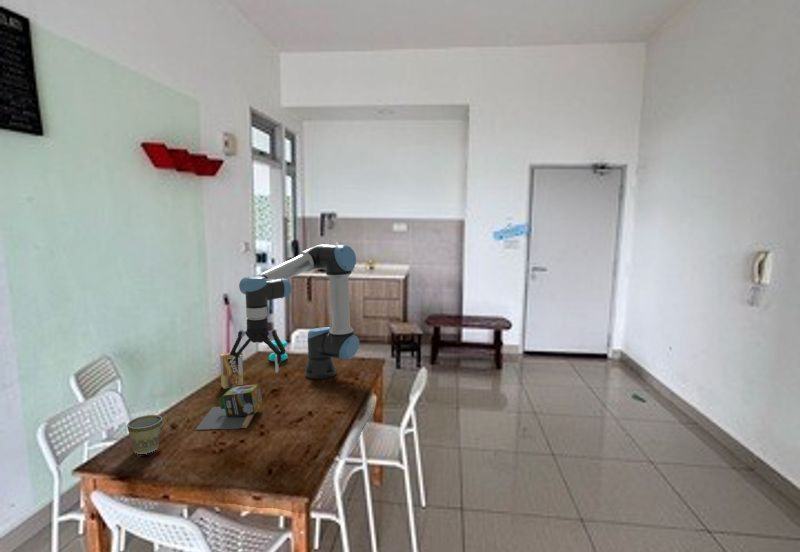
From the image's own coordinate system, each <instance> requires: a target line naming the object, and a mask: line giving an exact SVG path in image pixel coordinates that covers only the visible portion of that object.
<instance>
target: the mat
mask: <svg viewBox="0 0 800 552" xmlns="http://www.w3.org/2000/svg"><path fill="white" fill-rule="evenodd" d="M254 416H255V414H253V415H244V416H234V417H227V416H226V412H225V409H221V407H220V406H212V408H211V409H210V410H209V412H207V414H206V415H205V416H204V418H203V419H202V420H201V421H200V423H199V424H198V425H197V427H196V428H195V430H196V431H211V430H210V429H223V430H239V428H248V427H249V425H250V423H251V421H252V419H253V417H254Z"/></svg>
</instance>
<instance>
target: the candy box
mask: <svg viewBox="0 0 800 552" xmlns="http://www.w3.org/2000/svg"><path fill="white" fill-rule="evenodd" d="M238 351H239V350H238ZM238 351H237V350H236V352H238ZM219 355H220V357H219V358H220V359H219V360H220V361H219V363H220V379H221V381H220V383H221V385H220V387H222V388H223V390H225V389H231V388H232V387H237V386H244V372H242V373H241V374H239V368H238V365H236V360H235V356H233V355H232V356H231V355H230V352H226V353H221V354H219ZM240 355H242V356H243V353H242V352H241V353H240ZM243 365H244V363H243V362H242V370H243V371H244V369H243V368H244V367H243Z"/></svg>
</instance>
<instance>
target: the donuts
mask: <svg viewBox="0 0 800 552" xmlns="http://www.w3.org/2000/svg"><path fill="white" fill-rule="evenodd" d="M270 341H271V342H272V343H273V344H274V345H275V346H276V347H277V348H278V349H279V347H278V346H277V344H276V342H275V340H270ZM280 341H281V343H282V344H283V346H284V348H285V349H286V347H287V346H288V341H286V340H282V339H280ZM268 348H269V349H271V348H270V347H269V346H268ZM279 350H280V349H279ZM275 356H276V354H275V353H274V352H272V353H270V354H269V355H268V359H269V361H271V362H274V363H275ZM288 357H289V356H288V354H287V353H286V352H285V354H282V355H281V362H284V361H286V360H287V359H288Z"/></svg>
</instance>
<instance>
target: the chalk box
mask: <svg viewBox="0 0 800 552" xmlns="http://www.w3.org/2000/svg"><path fill="white" fill-rule="evenodd" d="M219 405H220V406H219V407H221V409H225V412H226V416H227V417H234V416H244V415H253V414H254V415H256V414H257V413H258V411H259V410H260V409H261V408H262V407H263V405H264V401H263V397H262V390H261V386H260V383H257V384H250V385H249V384H248V385H239V386H235V387H230V388H229V390H227V391H226V392H225V393H224V394H223V395H222V396H221V397H219Z"/></svg>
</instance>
